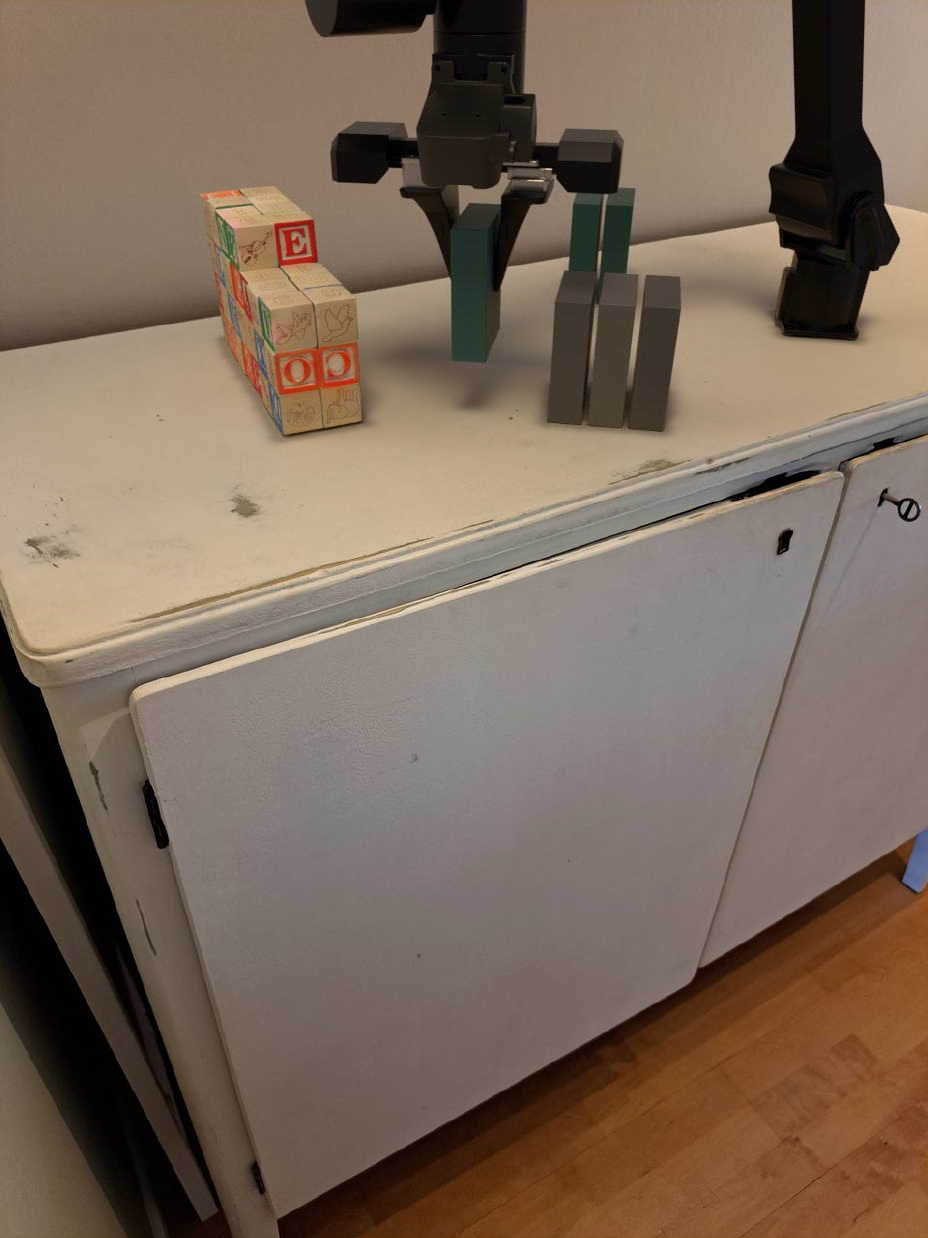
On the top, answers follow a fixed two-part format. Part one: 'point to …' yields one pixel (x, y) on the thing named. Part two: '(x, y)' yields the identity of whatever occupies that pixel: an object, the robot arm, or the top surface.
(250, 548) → the top surface
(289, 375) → the stack of blocks
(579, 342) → the grey books
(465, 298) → the teal book
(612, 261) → the teal books
